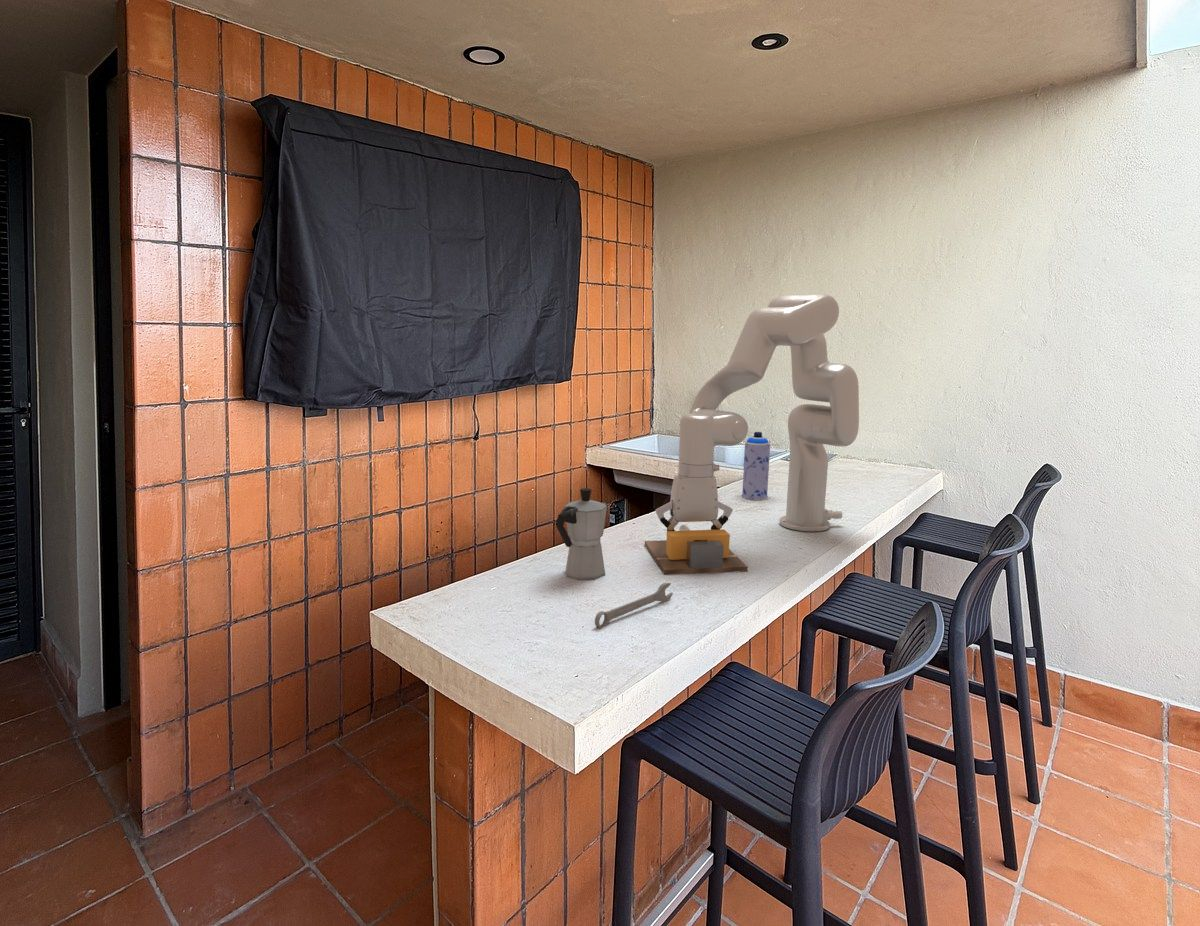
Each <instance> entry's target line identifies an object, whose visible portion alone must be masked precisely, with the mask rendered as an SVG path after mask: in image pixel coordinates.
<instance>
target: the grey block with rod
mask: <svg viewBox="0 0 1200 926" xmlns="http://www.w3.org/2000/svg"><path fill="white" fill-rule="evenodd" d="M688 530H691V529H690V528H689V527H688V526H687V525H686V524H681V525H680V526H679V528H678V531H688ZM723 547H724V545H723V544H722V543H721V542H720V541H702V540H693V541H689V542H687V560H686V564H687V566H688V567H689V568H690V569H700V568H723Z"/></svg>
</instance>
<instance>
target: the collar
mask: <svg viewBox="0 0 1200 926" xmlns="http://www.w3.org/2000/svg"><path fill="white" fill-rule="evenodd" d="M730 536H731V535H730V533H728V531H727V530H726V529H723V528H721V529H720V530H711V529H700V530H698V529H696V530H695V529H694V530H691V529H690V530H688V531H680V530H675V531H667V530H666V540H667V541H666V554H667V556H668V557H669V559H670V560H678V559H687V542H689V541H693V540H702V541H720V542H721V543H722V544H723V545H724V547H723V558H729V549H730V539H731V537H730Z"/></svg>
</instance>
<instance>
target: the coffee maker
mask: <svg viewBox="0 0 1200 926" xmlns="http://www.w3.org/2000/svg"><path fill="white" fill-rule="evenodd" d="M579 490H580V491H579V492H580V498H581V499H579V500H574V501H570V502H568V503H567V504H565V505H564V506H563V508H562V510H561V512H560V513H559V514H558V515H557V519H556V521H555V527H556V528H557V531H558V533H559V536H560V537H561V539H562V541H563V543H564V545H565V547H567V548H568V553H567V559H566V565H565V575H566V577H568V578H571V579H573V580H577V581H595V580H598V579H600V578H603V577H605V576H606V569H605V562H604V555H603V550H602V549H603V548H602V542H601V538H602V537H603V536H604V532H605V523H606V516H607V510H608V505H607V503H606V502H600V501H596V500H593V499H591V494H592V489H591V488H589V487H588V488H587V487H584V488H580V489H579ZM565 523H566V528H565ZM566 529H567V530H566Z"/></svg>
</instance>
